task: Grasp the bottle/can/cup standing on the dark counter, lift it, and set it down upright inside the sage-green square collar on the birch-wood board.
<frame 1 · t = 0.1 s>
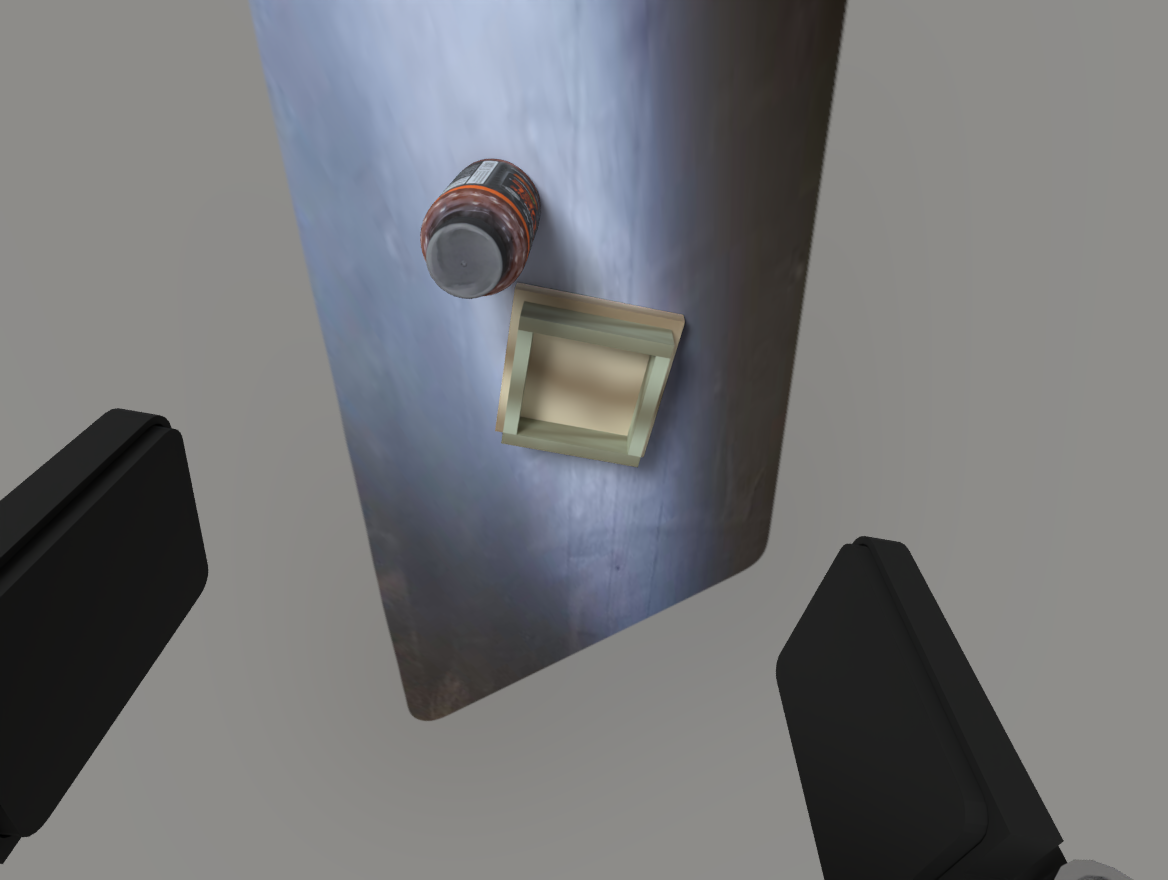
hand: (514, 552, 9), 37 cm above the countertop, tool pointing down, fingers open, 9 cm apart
supplement bottle: (497, 203, 43), on the countertop
socket board: (584, 371, 49), on the countertop
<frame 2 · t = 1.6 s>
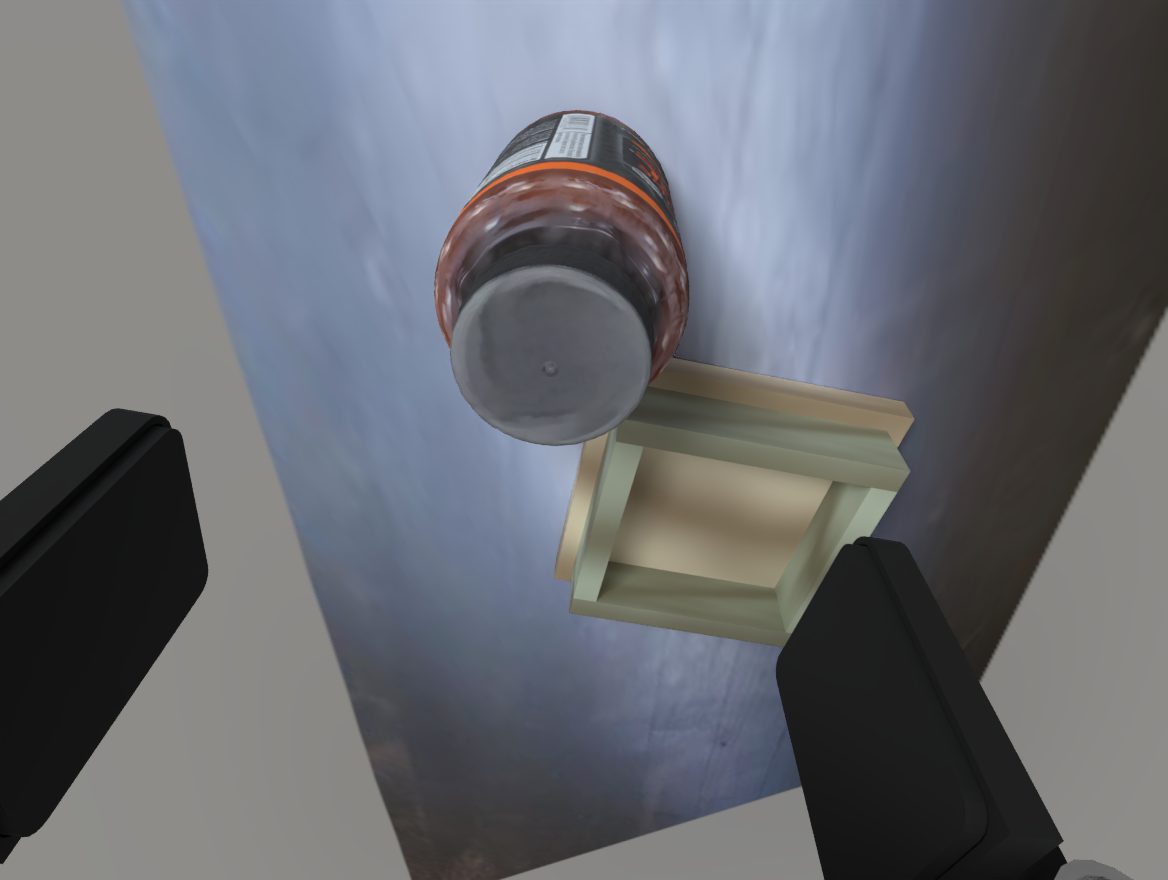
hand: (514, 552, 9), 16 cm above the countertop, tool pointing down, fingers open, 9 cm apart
supplement bottle: (579, 201, 22), on the countertop
socket board: (711, 489, 29), on the countertop
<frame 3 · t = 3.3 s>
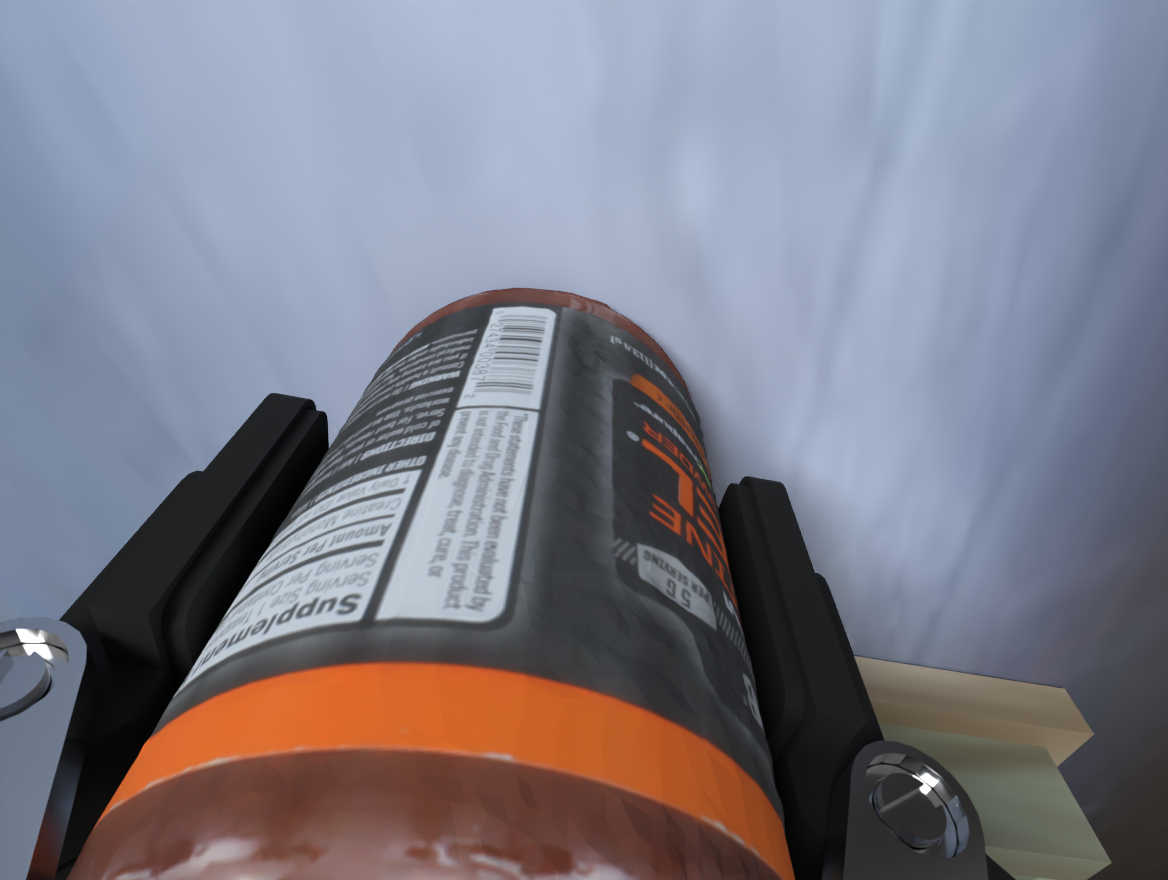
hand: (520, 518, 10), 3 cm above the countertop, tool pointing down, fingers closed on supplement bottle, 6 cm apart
supplement bottle: (537, 419, 12), on the countertop, touching gripper
socket board: (751, 779, 19), on the countertop
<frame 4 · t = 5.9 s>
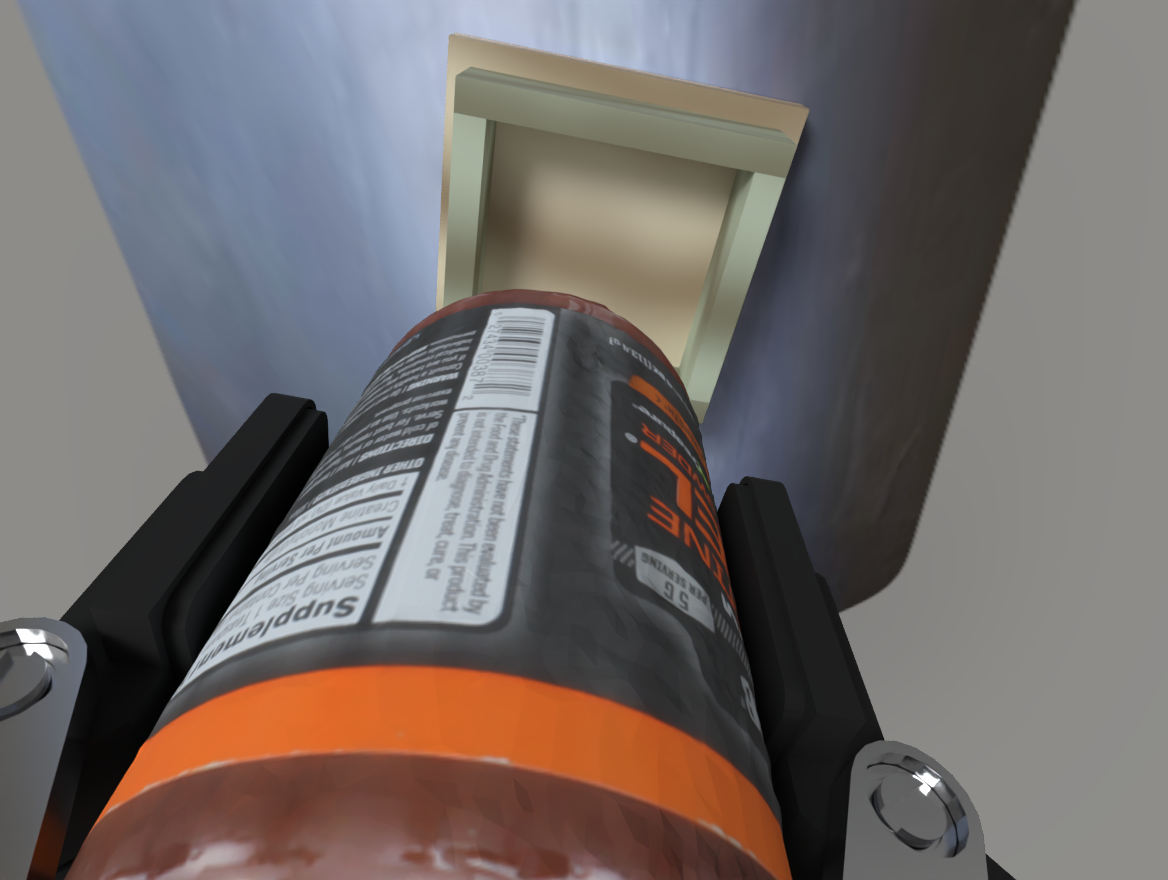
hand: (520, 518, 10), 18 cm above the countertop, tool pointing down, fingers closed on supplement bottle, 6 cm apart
supplement bottle: (536, 420, 12), point 15 cm above the countertop, touching gripper
socket board: (599, 240, 26), on the countertop
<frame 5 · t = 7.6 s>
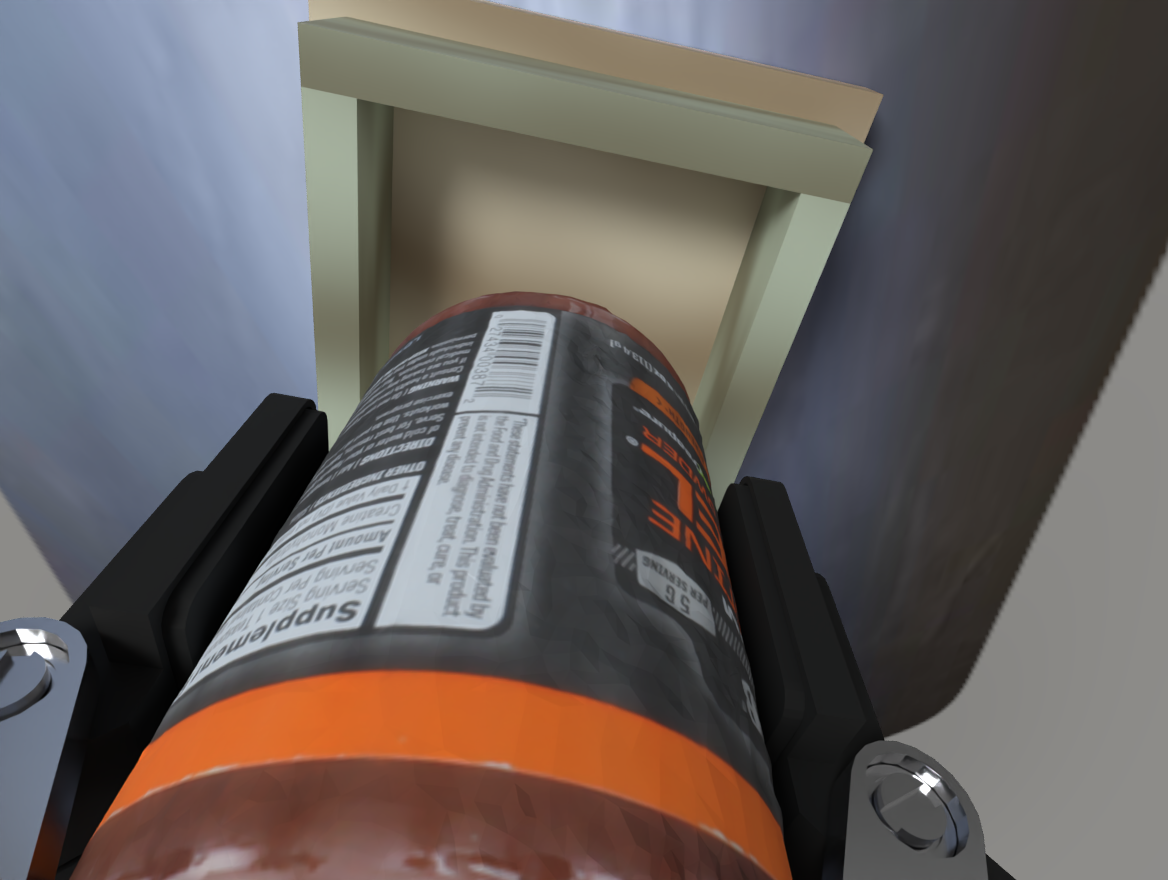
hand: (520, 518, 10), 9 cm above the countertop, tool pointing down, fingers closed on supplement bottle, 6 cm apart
supplement bottle: (537, 422, 12), point 7 cm above the countertop, touching gripper
socket board: (560, 284, 18), on the countertop
when the fingers open (5 cm above the countertop, at t = 8.8 s): supplement bottle drops 2 cm, resting on socket board.
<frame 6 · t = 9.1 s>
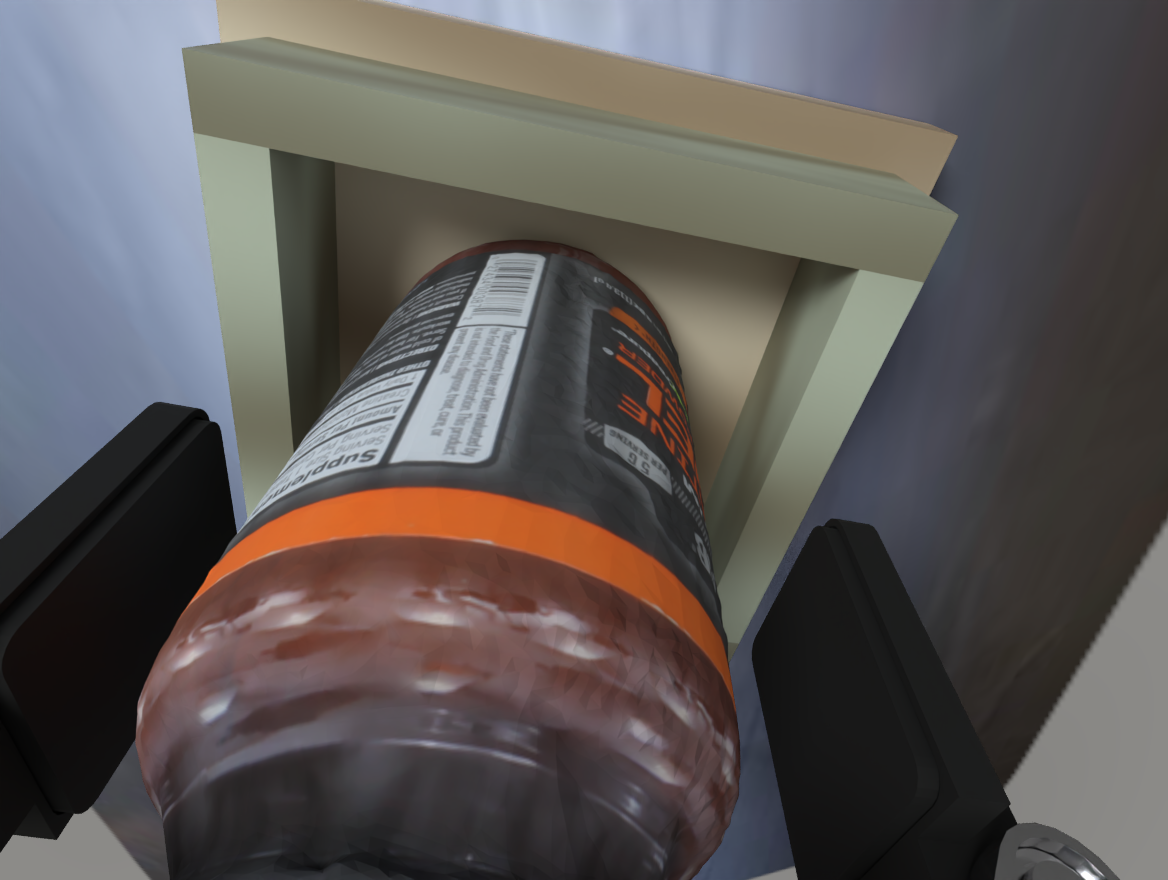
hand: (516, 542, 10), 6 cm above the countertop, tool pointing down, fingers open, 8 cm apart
supplement bottle: (535, 365, 14), point 1 cm above the countertop, touching socket board
socket board: (548, 354, 15), on the countertop
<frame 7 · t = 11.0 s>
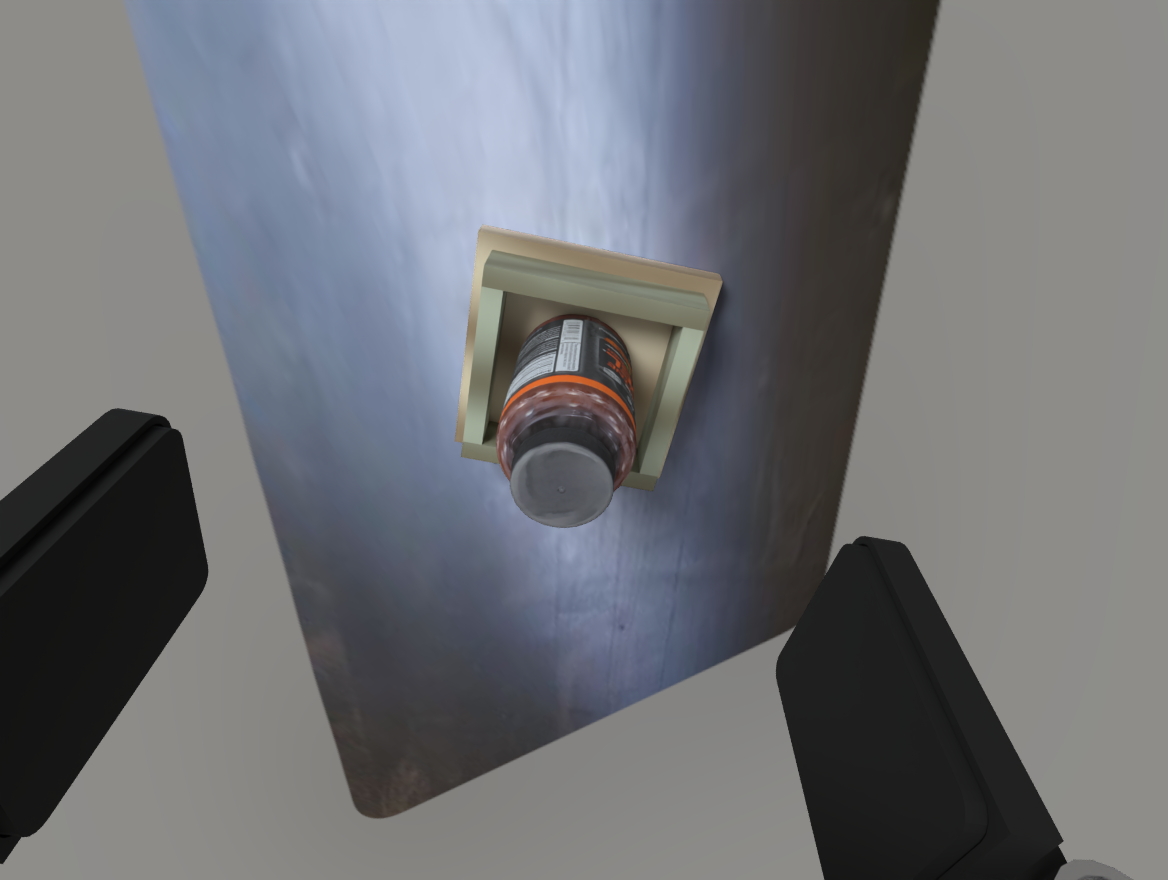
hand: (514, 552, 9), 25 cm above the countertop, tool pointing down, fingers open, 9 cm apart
supplement bottle: (575, 361, 34), point 1 cm above the countertop, touching socket board
socket board: (579, 358, 35), on the countertop
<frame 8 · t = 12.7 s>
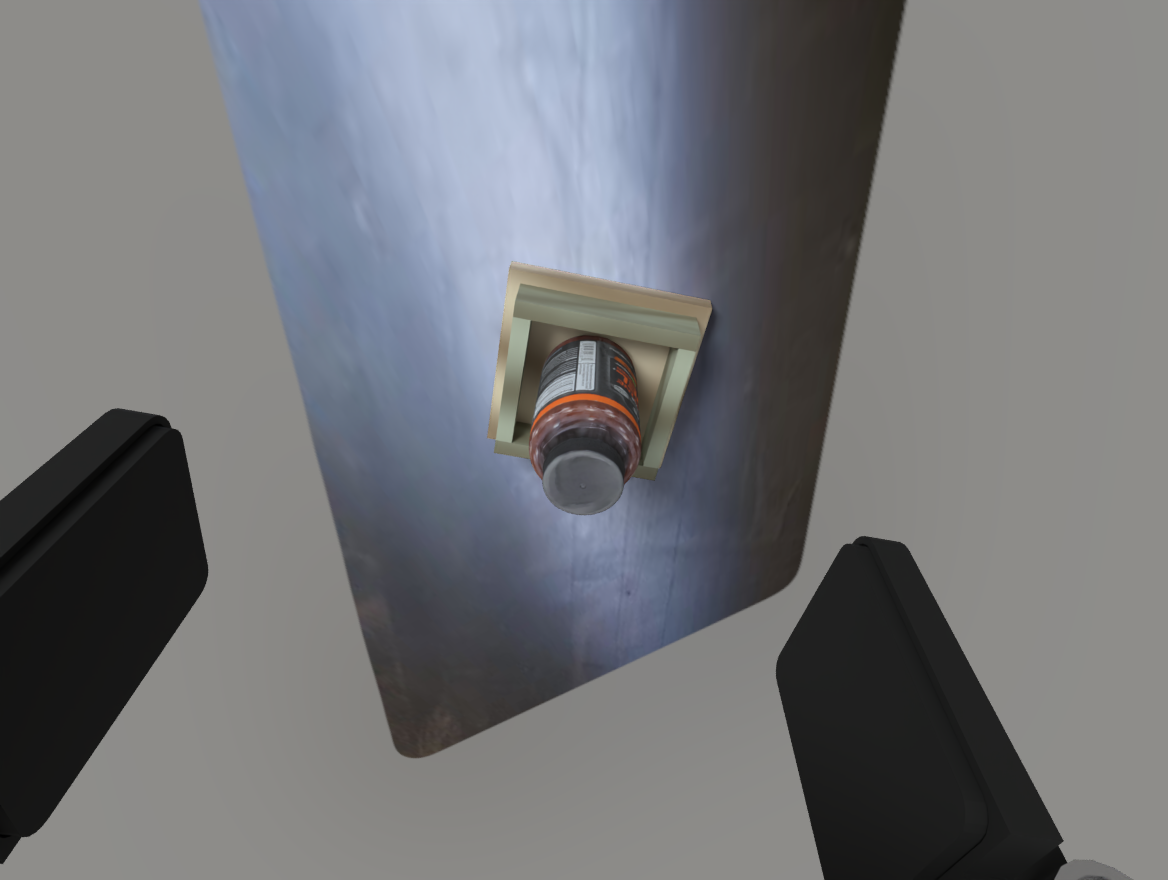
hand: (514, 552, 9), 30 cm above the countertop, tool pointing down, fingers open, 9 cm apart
supplement bottle: (588, 372, 41), point 1 cm above the countertop, touching socket board
socket board: (592, 368, 42), on the countertop
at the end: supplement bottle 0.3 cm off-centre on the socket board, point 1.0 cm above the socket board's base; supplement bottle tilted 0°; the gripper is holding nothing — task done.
